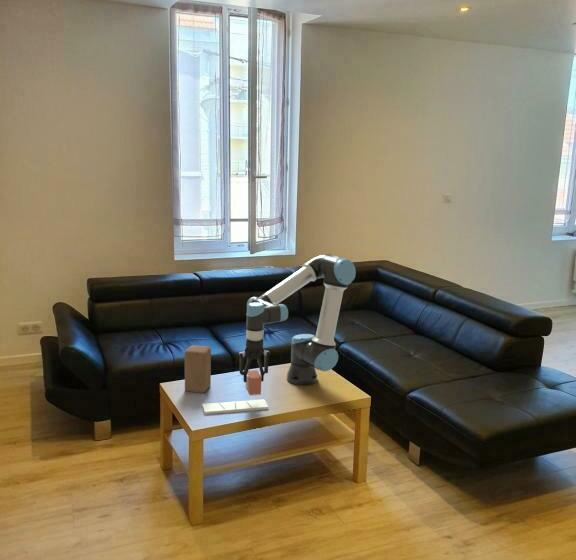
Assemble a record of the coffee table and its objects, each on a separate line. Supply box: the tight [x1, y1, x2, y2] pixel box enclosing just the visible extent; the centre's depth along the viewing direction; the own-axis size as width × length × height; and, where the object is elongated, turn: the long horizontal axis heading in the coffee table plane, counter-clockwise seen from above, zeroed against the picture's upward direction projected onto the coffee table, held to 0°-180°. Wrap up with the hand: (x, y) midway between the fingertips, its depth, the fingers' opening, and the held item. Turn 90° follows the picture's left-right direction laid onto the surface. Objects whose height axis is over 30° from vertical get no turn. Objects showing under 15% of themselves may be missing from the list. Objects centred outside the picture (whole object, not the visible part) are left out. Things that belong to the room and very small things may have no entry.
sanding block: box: [246, 369, 262, 397], centre depth 255 cm, size 5×9×8 cm, turn 15°
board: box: [202, 398, 269, 415], centre depth 255 cm, size 28×8×1 cm, turn 105°
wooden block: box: [184, 344, 212, 394], centre depth 272 cm, size 10×10×20 cm
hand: (253, 388), depth 255 cm, fingers closed on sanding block, 5 cm apart
